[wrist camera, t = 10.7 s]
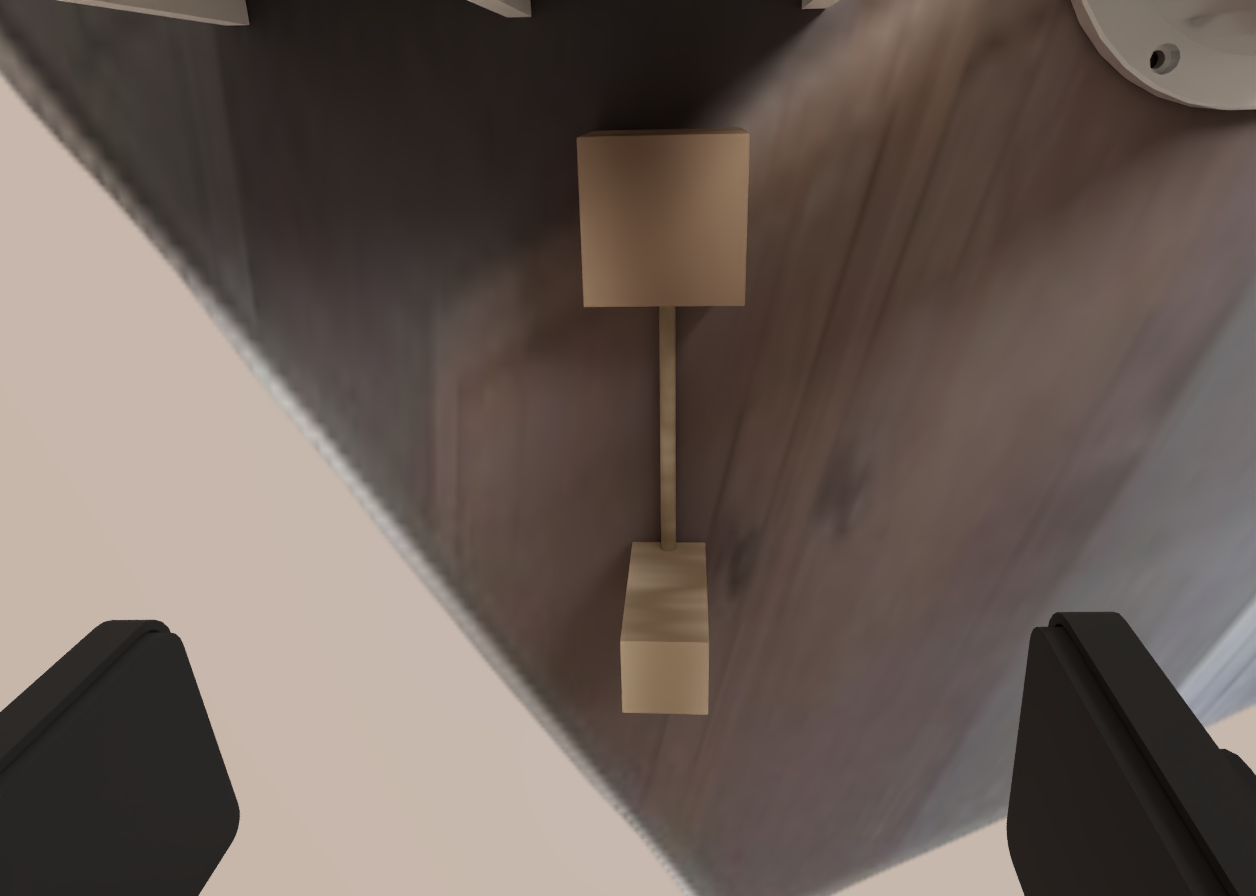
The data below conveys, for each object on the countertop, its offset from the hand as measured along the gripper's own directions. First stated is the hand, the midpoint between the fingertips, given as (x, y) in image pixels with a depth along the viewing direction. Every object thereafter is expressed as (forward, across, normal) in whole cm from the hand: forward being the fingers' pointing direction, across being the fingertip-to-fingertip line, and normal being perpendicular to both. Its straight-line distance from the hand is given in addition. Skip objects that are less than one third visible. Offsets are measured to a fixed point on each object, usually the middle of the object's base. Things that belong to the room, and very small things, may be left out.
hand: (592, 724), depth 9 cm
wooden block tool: (+24, +1, +5) cm, 24 cm away
